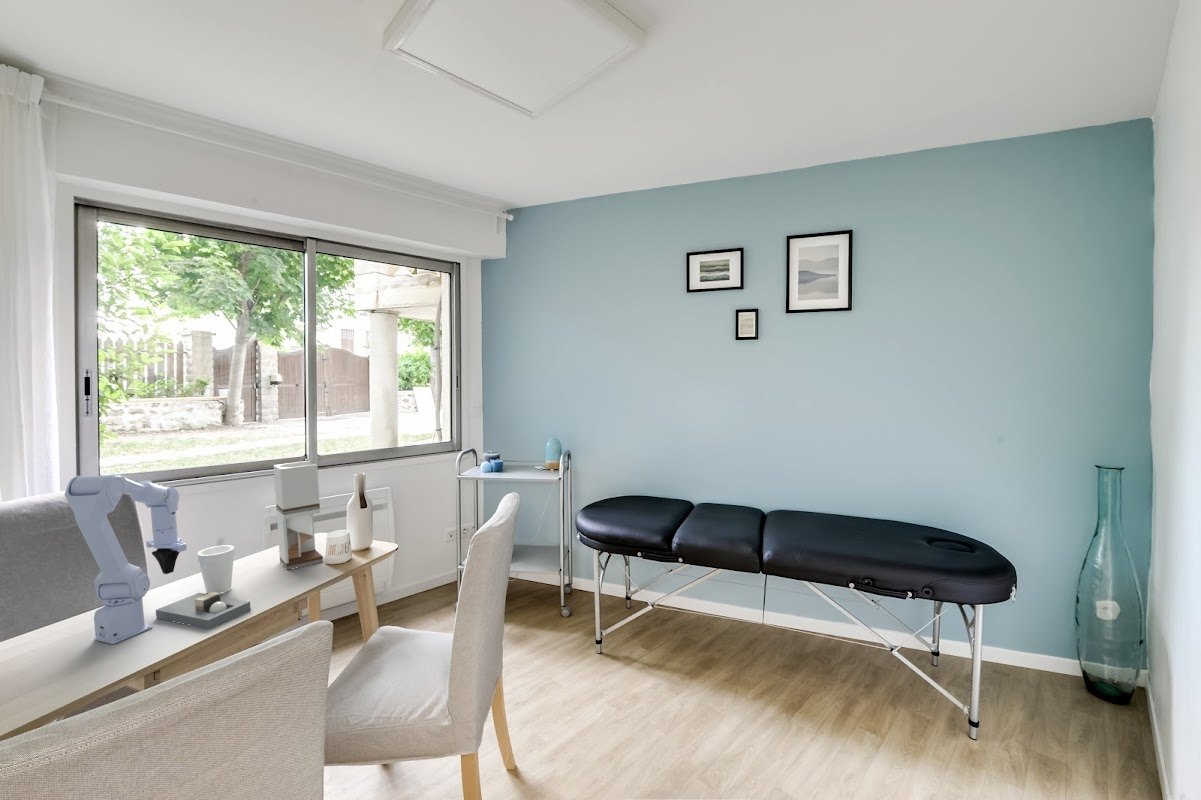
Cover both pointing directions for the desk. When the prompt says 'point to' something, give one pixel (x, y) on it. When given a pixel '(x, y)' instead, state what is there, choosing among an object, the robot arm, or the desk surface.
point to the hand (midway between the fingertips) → (168, 572)
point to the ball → (217, 607)
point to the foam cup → (217, 567)
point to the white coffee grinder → (297, 513)
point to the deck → (201, 612)
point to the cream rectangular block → (207, 601)
